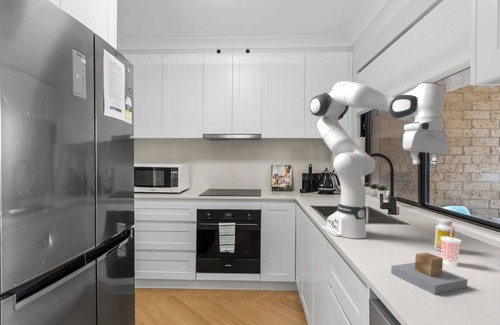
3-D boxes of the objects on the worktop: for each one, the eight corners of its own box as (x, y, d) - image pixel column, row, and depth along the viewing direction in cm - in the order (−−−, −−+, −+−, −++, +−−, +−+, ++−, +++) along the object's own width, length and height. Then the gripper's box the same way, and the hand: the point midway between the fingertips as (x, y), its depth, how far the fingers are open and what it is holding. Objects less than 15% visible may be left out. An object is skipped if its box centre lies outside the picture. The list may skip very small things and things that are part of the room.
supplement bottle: (456, 254, 113) (458, 222, 113) (438, 251, 115) (440, 220, 114) (448, 248, 120) (450, 218, 120) (431, 246, 121) (433, 217, 121)
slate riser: (391, 273, 89) (391, 265, 89) (421, 268, 95) (421, 261, 95) (434, 294, 76) (435, 285, 76) (466, 287, 82) (467, 279, 82)
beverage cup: (462, 265, 101) (465, 226, 101) (454, 267, 98) (457, 227, 97) (443, 259, 106) (446, 222, 106) (435, 261, 103) (438, 223, 102)
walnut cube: (414, 269, 87) (415, 253, 87) (425, 268, 89) (426, 252, 89) (430, 276, 82) (431, 259, 82) (441, 274, 84) (442, 258, 84)
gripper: (437, 130, 110) (435, 165, 110) (400, 125, 102) (397, 163, 102) (454, 129, 104) (452, 166, 105) (416, 123, 96) (413, 164, 97)
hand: (425, 164), depth 103 cm, fingers open, 8 cm apart
